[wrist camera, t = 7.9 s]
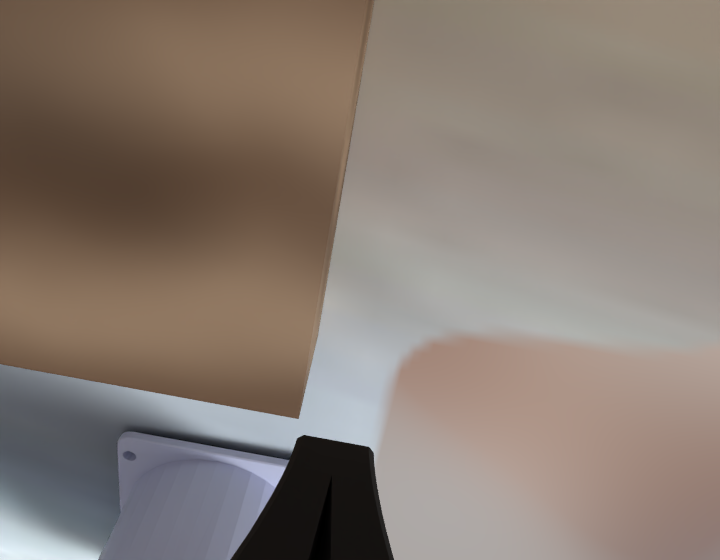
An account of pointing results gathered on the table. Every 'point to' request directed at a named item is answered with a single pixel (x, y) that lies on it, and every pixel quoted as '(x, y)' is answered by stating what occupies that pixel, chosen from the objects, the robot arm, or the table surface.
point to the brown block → (174, 189)
